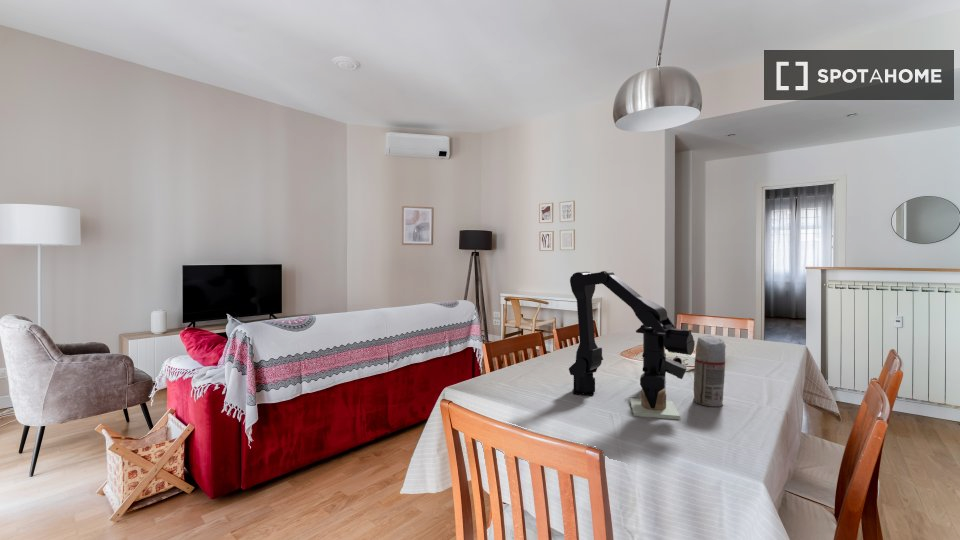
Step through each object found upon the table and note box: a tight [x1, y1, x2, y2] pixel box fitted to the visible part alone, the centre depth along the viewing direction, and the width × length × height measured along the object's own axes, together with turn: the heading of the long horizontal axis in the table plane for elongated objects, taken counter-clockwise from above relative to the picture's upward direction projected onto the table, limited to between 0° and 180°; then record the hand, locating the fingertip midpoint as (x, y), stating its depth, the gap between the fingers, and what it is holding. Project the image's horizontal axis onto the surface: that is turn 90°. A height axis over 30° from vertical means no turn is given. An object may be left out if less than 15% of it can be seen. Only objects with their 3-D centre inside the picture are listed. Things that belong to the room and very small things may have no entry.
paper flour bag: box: [693, 335, 726, 407], centre depth 128 cm, size 8×8×20 cm
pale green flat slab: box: [629, 397, 681, 420], centre depth 123 cm, size 12×12×4 cm
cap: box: [640, 388, 667, 410], centre depth 123 cm, size 6×6×6 cm
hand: (653, 402), depth 123 cm, fingers open, 9 cm apart
